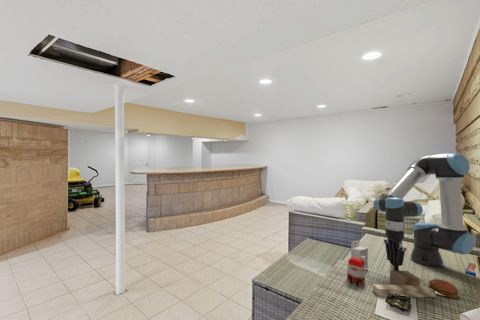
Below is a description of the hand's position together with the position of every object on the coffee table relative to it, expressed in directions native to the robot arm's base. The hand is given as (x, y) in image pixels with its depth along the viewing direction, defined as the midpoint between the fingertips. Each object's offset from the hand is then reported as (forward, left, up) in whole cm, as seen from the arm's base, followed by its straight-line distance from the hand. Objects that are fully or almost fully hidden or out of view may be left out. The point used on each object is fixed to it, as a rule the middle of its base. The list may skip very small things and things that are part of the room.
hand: (394, 277), depth 109 cm
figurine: (+20, +2, -2) cm, 20 cm away
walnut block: (0, +6, -2) cm, 6 cm away
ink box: (+11, -13, -2) cm, 17 cm away
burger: (-15, +10, -2) cm, 18 cm away
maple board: (+5, +12, -2) cm, 13 cm away
